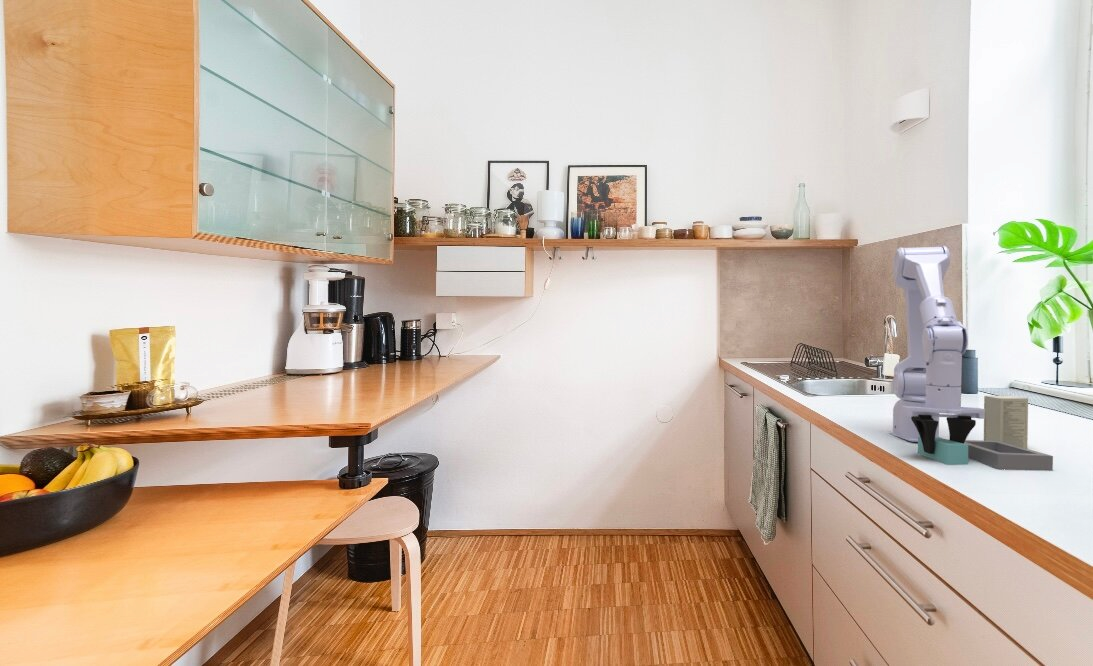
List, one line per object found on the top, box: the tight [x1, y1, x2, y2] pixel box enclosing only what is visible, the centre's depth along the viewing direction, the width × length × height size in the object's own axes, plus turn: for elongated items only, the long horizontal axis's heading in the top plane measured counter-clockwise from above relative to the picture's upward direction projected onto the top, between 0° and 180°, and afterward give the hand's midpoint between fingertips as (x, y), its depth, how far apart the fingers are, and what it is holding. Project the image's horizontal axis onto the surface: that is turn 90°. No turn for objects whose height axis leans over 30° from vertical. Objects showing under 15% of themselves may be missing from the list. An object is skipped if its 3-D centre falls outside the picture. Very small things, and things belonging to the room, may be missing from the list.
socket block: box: [964, 439, 1054, 472], centre depth 107 cm, size 14×10×3 cm
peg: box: [917, 436, 969, 466], centre depth 108 cm, size 8×4×4 cm, turn 2°
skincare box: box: [983, 394, 1029, 449], centre depth 116 cm, size 6×4×12 cm
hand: (941, 453), depth 108 cm, fingers closed on peg, 4 cm apart
